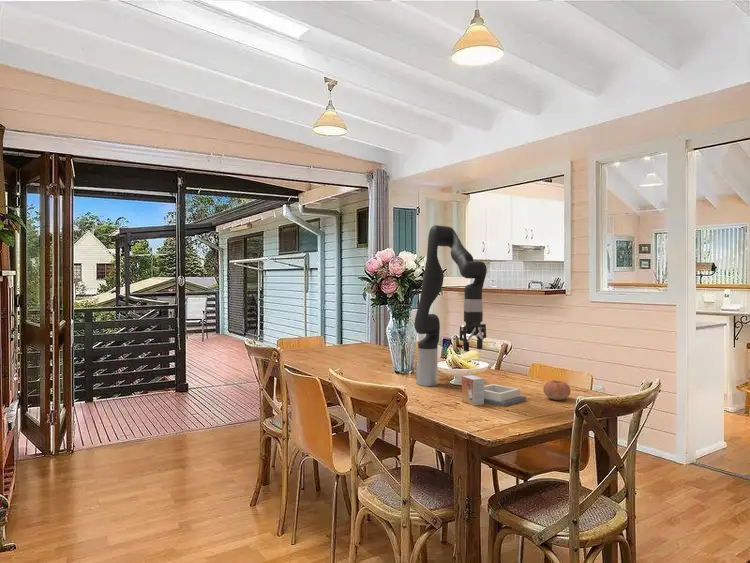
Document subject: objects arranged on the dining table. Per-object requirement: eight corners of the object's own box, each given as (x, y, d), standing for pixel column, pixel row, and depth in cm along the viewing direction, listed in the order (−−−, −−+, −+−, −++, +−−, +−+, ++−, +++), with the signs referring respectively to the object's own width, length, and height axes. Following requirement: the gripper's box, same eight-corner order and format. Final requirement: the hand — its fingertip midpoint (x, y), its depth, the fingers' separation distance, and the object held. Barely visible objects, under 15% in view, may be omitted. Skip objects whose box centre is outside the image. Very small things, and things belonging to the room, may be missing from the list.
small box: (461, 401, 214) (461, 375, 214) (472, 400, 217) (472, 374, 216) (472, 405, 207) (472, 379, 207) (484, 404, 209) (484, 378, 209)
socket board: (467, 398, 219) (467, 387, 219) (490, 392, 230) (490, 382, 229) (503, 406, 205) (503, 395, 205) (526, 400, 216) (526, 389, 216)
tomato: (548, 402, 213) (548, 382, 213) (539, 396, 224) (540, 377, 224) (574, 402, 213) (574, 383, 213) (565, 396, 224) (565, 377, 224)
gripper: (476, 309, 219) (476, 347, 219) (454, 310, 209) (454, 351, 210) (491, 310, 213) (491, 349, 213) (469, 311, 204) (469, 353, 204)
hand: (473, 350), depth 212 cm, fingers open, 8 cm apart
